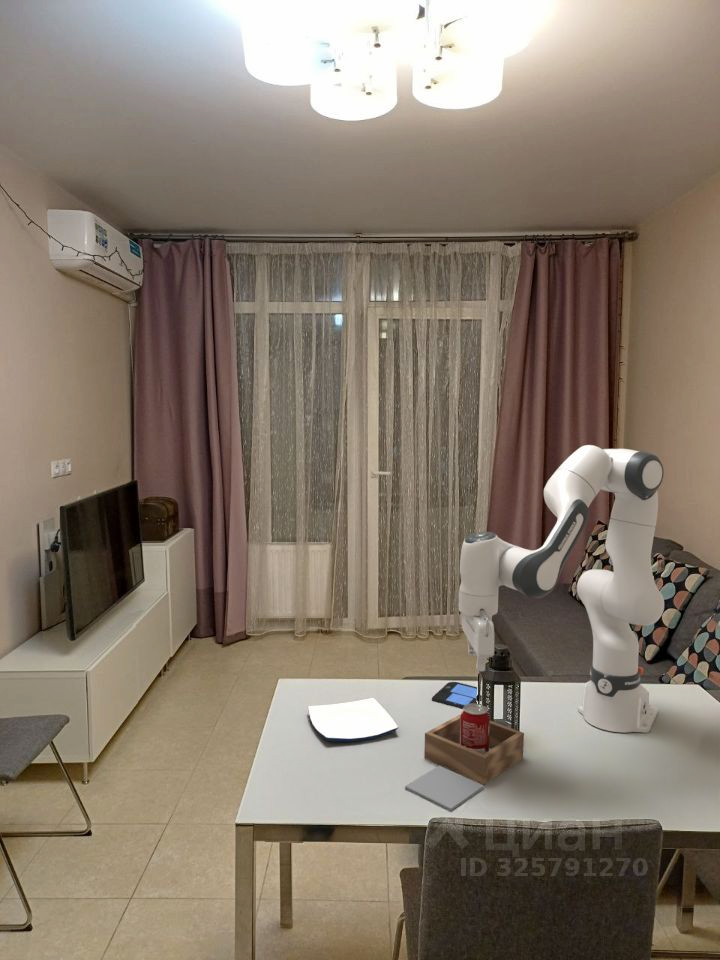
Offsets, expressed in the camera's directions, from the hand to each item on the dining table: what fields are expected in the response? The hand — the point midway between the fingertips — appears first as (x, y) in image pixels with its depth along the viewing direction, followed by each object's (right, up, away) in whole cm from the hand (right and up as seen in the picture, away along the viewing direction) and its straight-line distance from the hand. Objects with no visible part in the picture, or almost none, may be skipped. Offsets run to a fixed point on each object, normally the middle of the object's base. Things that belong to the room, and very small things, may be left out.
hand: (476, 662), depth 158 cm
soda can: (0, -23, +2) cm, 23 cm away
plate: (-29, -22, +18) cm, 41 cm away
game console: (+2, -20, +36) cm, 41 cm away
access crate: (0, -23, +2) cm, 23 cm away
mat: (-9, -24, -11) cm, 28 cm away
